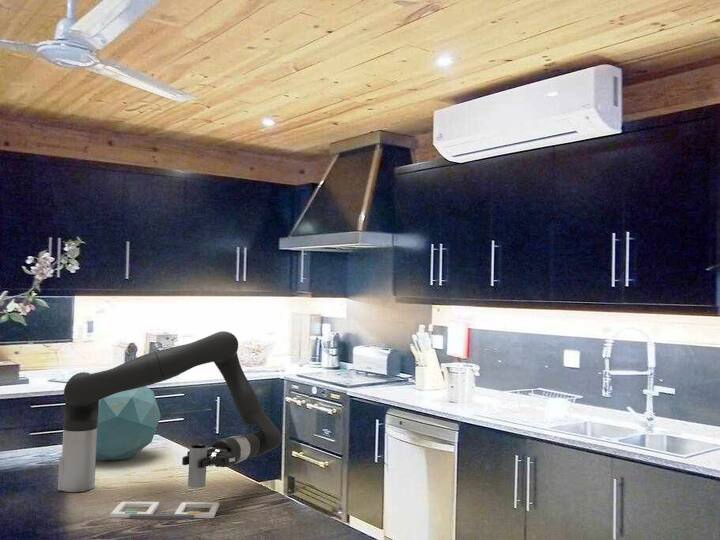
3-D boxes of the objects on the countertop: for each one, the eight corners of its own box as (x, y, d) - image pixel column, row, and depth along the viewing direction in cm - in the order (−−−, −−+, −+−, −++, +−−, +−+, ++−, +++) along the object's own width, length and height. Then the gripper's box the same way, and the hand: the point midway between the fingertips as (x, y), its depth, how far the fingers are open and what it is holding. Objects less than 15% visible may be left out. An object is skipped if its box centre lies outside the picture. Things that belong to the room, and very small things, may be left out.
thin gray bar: (129, 518, 171) (129, 515, 171) (130, 517, 172) (130, 514, 172) (193, 519, 172) (193, 516, 172) (193, 518, 173) (193, 515, 173)
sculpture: (169, 408, 255) (129, 346, 242) (180, 448, 229) (135, 382, 216) (98, 448, 249) (53, 388, 236) (101, 495, 224) (50, 430, 211)
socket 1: (110, 517, 171) (110, 512, 171) (121, 505, 181) (121, 500, 181) (150, 517, 172) (150, 512, 172) (159, 505, 182) (159, 500, 182)
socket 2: (174, 517, 172) (174, 512, 172) (181, 505, 182) (181, 501, 182) (213, 518, 173) (213, 513, 173) (219, 506, 183) (219, 501, 183)
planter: (195, 482, 181) (197, 443, 181) (208, 485, 179) (210, 446, 179) (184, 486, 177) (186, 446, 177) (197, 489, 175) (199, 449, 175)
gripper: (211, 434, 194) (170, 444, 179) (252, 440, 188) (213, 452, 173) (210, 460, 194) (169, 473, 179) (251, 467, 188) (212, 481, 172)
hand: (191, 462), depth 176 cm, fingers closed on planter, 4 cm apart
